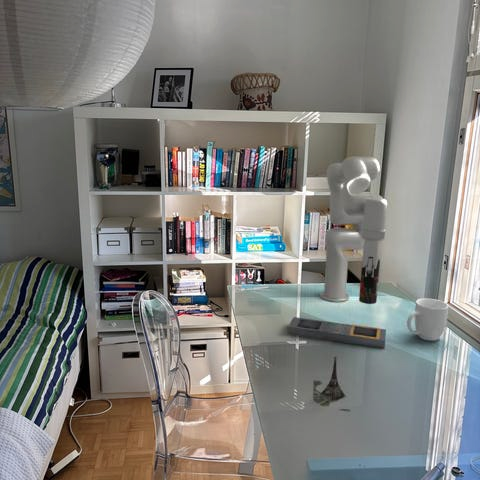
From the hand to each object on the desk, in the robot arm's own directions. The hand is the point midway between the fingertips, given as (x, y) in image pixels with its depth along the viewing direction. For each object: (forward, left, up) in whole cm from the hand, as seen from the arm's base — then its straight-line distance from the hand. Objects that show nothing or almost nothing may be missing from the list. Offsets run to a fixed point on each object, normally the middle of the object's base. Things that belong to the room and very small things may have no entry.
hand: (369, 284), depth 168 cm
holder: (0, -10, -21) cm, 23 cm away
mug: (-10, +21, -21) cm, 31 cm away
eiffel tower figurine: (+41, -6, -22) cm, 47 cm away
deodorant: (0, 0, -6) cm, 6 cm away
